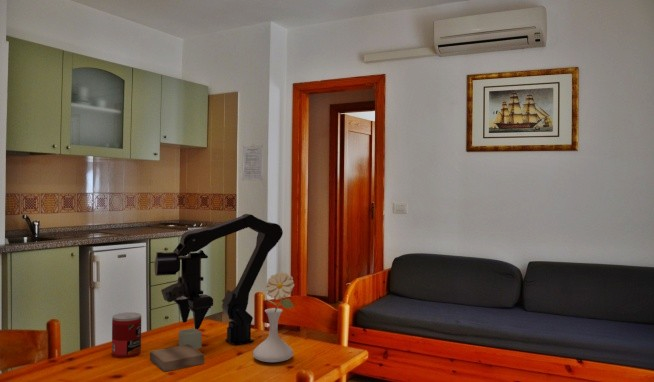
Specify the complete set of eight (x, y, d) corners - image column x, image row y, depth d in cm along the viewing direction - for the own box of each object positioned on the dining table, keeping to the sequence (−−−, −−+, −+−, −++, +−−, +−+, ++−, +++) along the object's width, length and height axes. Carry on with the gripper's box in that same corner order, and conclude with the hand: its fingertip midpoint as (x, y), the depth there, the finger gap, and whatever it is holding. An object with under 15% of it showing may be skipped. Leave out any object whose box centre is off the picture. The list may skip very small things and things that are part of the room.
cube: (194, 344, 157) (194, 328, 157) (201, 348, 153) (201, 331, 153) (178, 347, 154) (178, 330, 154) (185, 351, 150) (185, 334, 150)
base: (187, 352, 149) (188, 344, 149) (203, 363, 140) (204, 354, 140) (149, 360, 142) (149, 351, 142) (164, 371, 133) (164, 362, 133)
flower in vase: (244, 360, 143) (245, 270, 143) (272, 350, 152) (273, 266, 152) (278, 370, 136) (279, 276, 135) (306, 359, 145) (307, 271, 144)
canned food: (131, 359, 143) (131, 319, 143) (105, 356, 144) (106, 317, 144) (146, 350, 150) (146, 313, 150) (121, 348, 152) (122, 311, 152)
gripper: (153, 271, 156) (153, 323, 156) (176, 281, 141) (176, 337, 142) (188, 268, 163) (188, 317, 163) (214, 277, 148) (213, 331, 148)
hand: (190, 325), depth 154 cm, fingers open, 9 cm apart
